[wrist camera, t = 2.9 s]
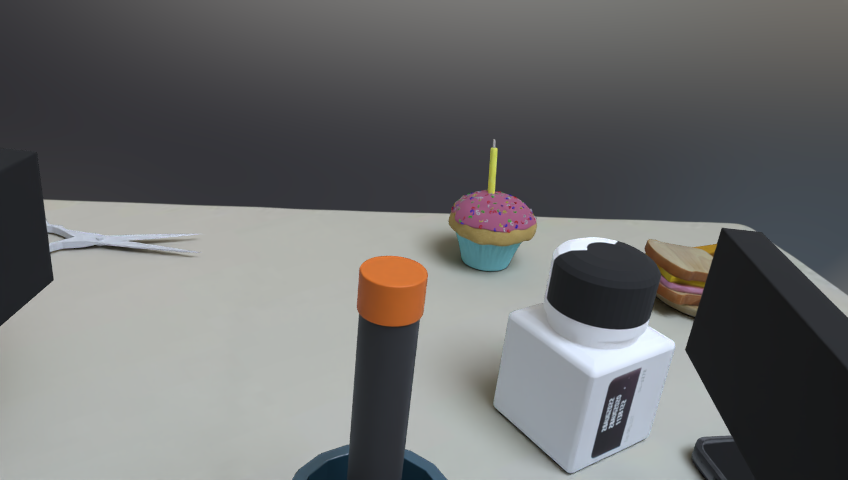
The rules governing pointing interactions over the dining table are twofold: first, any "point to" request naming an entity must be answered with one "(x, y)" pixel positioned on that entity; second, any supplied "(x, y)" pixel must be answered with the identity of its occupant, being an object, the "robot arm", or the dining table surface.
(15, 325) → the dining table surface
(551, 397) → the container
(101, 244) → the scissors
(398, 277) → the marker
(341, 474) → the pen cup
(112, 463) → the dining table surface
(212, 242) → the dining table surface
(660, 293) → the toy sandwich meal
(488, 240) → the cupcake
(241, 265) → the dining table surface
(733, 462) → the phone
